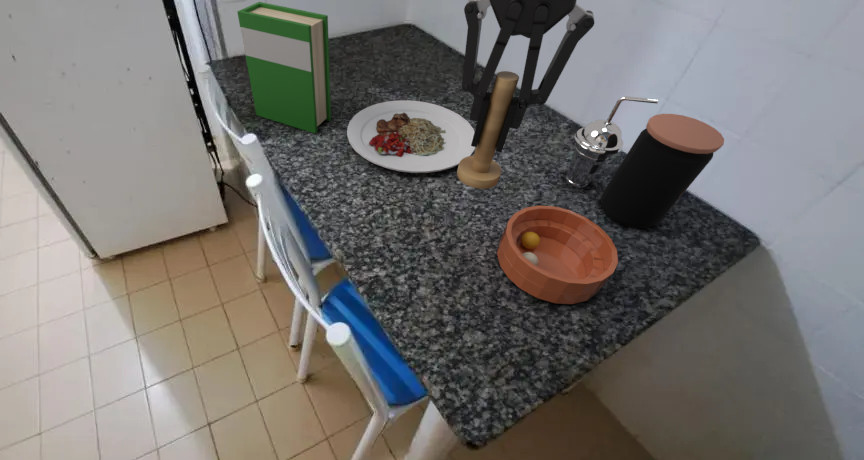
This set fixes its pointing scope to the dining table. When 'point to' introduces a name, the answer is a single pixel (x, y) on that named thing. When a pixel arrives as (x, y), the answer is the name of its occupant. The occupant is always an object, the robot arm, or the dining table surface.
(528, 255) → the bead
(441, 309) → the dining table surface
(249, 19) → the hardback book
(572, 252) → the bowl
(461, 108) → the dining table surface
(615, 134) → the cup with straw
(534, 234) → the bead
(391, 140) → the plated food
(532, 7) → the robot arm
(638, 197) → the coffee jar
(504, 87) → the masher
